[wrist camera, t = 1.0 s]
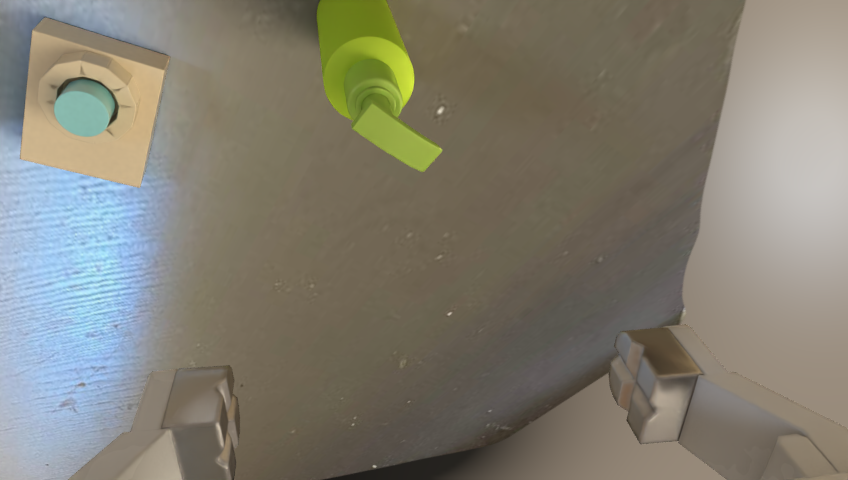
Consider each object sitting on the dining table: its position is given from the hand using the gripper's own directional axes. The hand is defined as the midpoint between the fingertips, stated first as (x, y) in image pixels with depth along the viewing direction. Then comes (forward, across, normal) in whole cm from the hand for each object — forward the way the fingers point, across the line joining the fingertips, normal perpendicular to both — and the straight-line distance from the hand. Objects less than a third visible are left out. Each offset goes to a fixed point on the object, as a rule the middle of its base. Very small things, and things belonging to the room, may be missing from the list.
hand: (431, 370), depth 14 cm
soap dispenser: (+44, -1, +2) cm, 44 cm away
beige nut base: (+44, +20, +8) cm, 49 cm away
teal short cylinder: (+40, +19, +6) cm, 44 cm away
